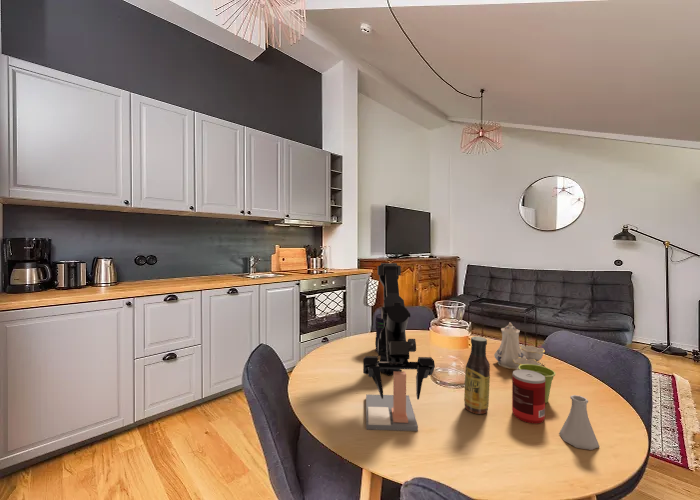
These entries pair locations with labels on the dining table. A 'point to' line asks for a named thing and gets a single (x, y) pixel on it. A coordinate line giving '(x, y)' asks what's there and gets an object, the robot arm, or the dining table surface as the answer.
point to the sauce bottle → (477, 378)
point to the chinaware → (516, 350)
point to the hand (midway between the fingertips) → (400, 398)
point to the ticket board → (387, 414)
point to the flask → (579, 426)
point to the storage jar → (378, 328)
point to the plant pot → (544, 371)
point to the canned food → (528, 396)
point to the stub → (399, 397)
